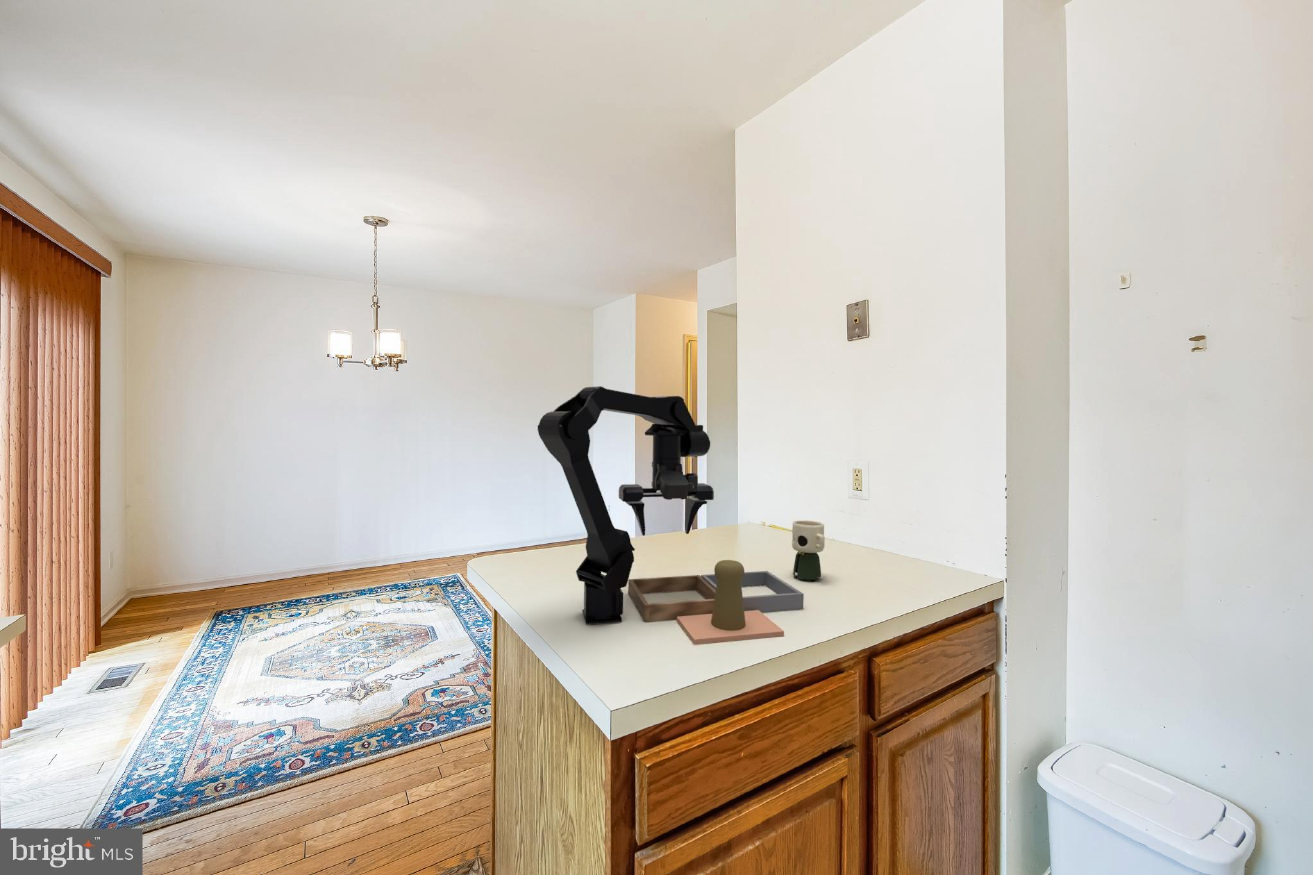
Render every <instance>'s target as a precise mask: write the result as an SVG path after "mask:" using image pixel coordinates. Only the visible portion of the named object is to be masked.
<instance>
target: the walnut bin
mask: <svg viewBox="0 0 1313 875" xmlns="http://www.w3.org/2000/svg"><path fill="white" fill-rule="evenodd" d="M627 585H628V587H627V588H628V589H627V590H628V591H627V594H628V597H630V599H631V601H632V603H633V604H635V605H634V606H635V608H636V610H637V611H638V613H639V615H640V617H641V619H642V621H643V622H644V623H650V622H651V623H652V622H662V621H663V622H664V621H672V620H673V621H674V620H675V621H677V617H679V616H691V615H703V614H712V612H713V606H714V599H715V592H716V590H715V589H714V588H713V587H712V586H711V585H710V584H709V583H708V582H707V581H705V580H704V579H703V578H702V577H701V574H696V575H695V574H692V575H691V574H690V575H679V576H678V575H677V576H663V577H661V576H660V577H659V576H658V577H647V578H646V577H643V578H628V582H627ZM691 590H692V591H697V592H698V593H699V594H700V596H702V597H703V598H704V599H697V600H696V599H695V600H682V601H667V602H655V603H654V602H653V603H649V602H648V601H647V600H646V598H645V596H644V595H645V594H646V595H647V594H659V593H661V594H662V593H673V592H678V593H679V592H689V591H691ZM692 591H691V592H692Z"/></svg>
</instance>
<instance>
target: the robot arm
mask: <svg viewBox="0 0 1313 875" xmlns="http://www.w3.org/2000/svg"><path fill="white" fill-rule="evenodd" d="M602 411H607V412H613V413H618V414H626V415H633V416H638V417H640V418H641V419H643V420H644V421H647V422H650V423H652V424H651V426H650V427H649V428H648V429H646V430H645V431H644V435H645V436H649V437H650V436H651V437H652V461H651V467H652V469H651V470H652V475H651V476H652V478H651V479H652V481H651V487H643V486H641V484H637V483H636V484H634V483H633V484H631V483H630V484H627V483H625V484H621V485H620V486H619V488H618V499H620V500H621V501H622V502H624V503H625V504H627V505H628V506H630V507H631V509H632V511H633V512H634V515H635V517H636V518H635V519H636V520H637V523H638V527H639V530H640V532H641V536H646V523H645V522H646V521H645V502H643V500H642V499H644V498H663V499H664V500H667V501H669V500H672V499H675V500H676V499H680V500H685V509H684V510H685V512H684V530H685V531H684V532H685V534H686V535H689V534H690V533H691V532H690V531H691V529H692V526H693V523H694V521H695V518H696V515H697V513H698V512H699V510H700V509H701V507H702V506H703V505H707V504H708V501H713V500H714V498H715V495H714V494H715V492H714V488H713V486H712V485H710V484H707V483H702V482H701V483H698V479H699V476H698V475H697V473H696V472H691V473H690V472H688V473H686V474H684V473H683V464H682V460H681V459H682V458H690V457H691V458H692V457H695V458H696V457H703V456H705V455H707V453H708V452H709V451H710V448H711V440H710V437H709V434H707V432H706V431H705V430H704V425H703V424H696V423H695V421H694V419H693V417H692V415H691V412H690V411H689V408H688V406H687V405H686V403H685V399H684V398H683V397H682V396H680V395H668V396H664V395H663V396H646V395H641V394H635V393H630V392H625V391H620V390H614V389H609V388H606V387H604V386H601V385H599V386H586V387H584V388H582V389H581V390H580V391H578V392H577V393H576V394H575V395H574V396H573V397H571V398H570V399H568V400H566V401H565V402H563V403H562V404H560V405H559V406H558V407H556V408H555V409H554V410H553V411H549V412H546V413H545V414H543V415H542V417H541V419H540V420H539V423H538V425H537V432H538V436H539V438H540V439H541V441H542V443H543V445H544V447H545V448H546V450H547V451H548V452H549V454H550V455H552V457H553V458H554V459H556V461H557V462H558V463H559V465H560V467H561V468H562V470H563V473H564V476H565V478H566V481H567V483H568V486H569V489H570V491H571V493H572V497H573V499H574V501H575V504H576V507H577V510H578V513H579V515H580V517H581V520H582V522H583V525H584V527H585V530H586V534H587V537H586V543H585V551H586V557H585V558H584V559H583V560H582V562H581V564H580V565H579V566H578V568H577V569H576V571H575V574H576V576H577V579H578V581H579V582H582V583H583V609H582V615H583V616H582V617H583V619H584V620H583V621H584V622H585V624H586V625H599V624H610V623H620V622H621V623H622V621H623V618H622V615H623V614H624V592H623V590H622V589H623V588H626V587H627V585H628V579H630V575H631V571H632V568H633V564H634V562H635V556H634V551H635V550H636V548H634V546H633V545H632V543H631V537H630V534H629V532H628V531H627V530H623V529H619V528H617V527H616V528H615V526H614V525H613V524H614V523H613V522H612V519H611V516H610V513H609V510H608V508H607V505H606V503H605V500H604V497H603V494H602V491H601V489H600V486H599V483H598V480H597V477H596V475H595V472H594V469H593V467H592V464H591V461H590V459H589V458H590V457H589V452H590V451H589V450H590V445H591V438H590V432H589V431H590V430H591V429H592V427H594V426H595V424H597V422H598V420H599V417H600V416H601V413H602Z"/></svg>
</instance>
